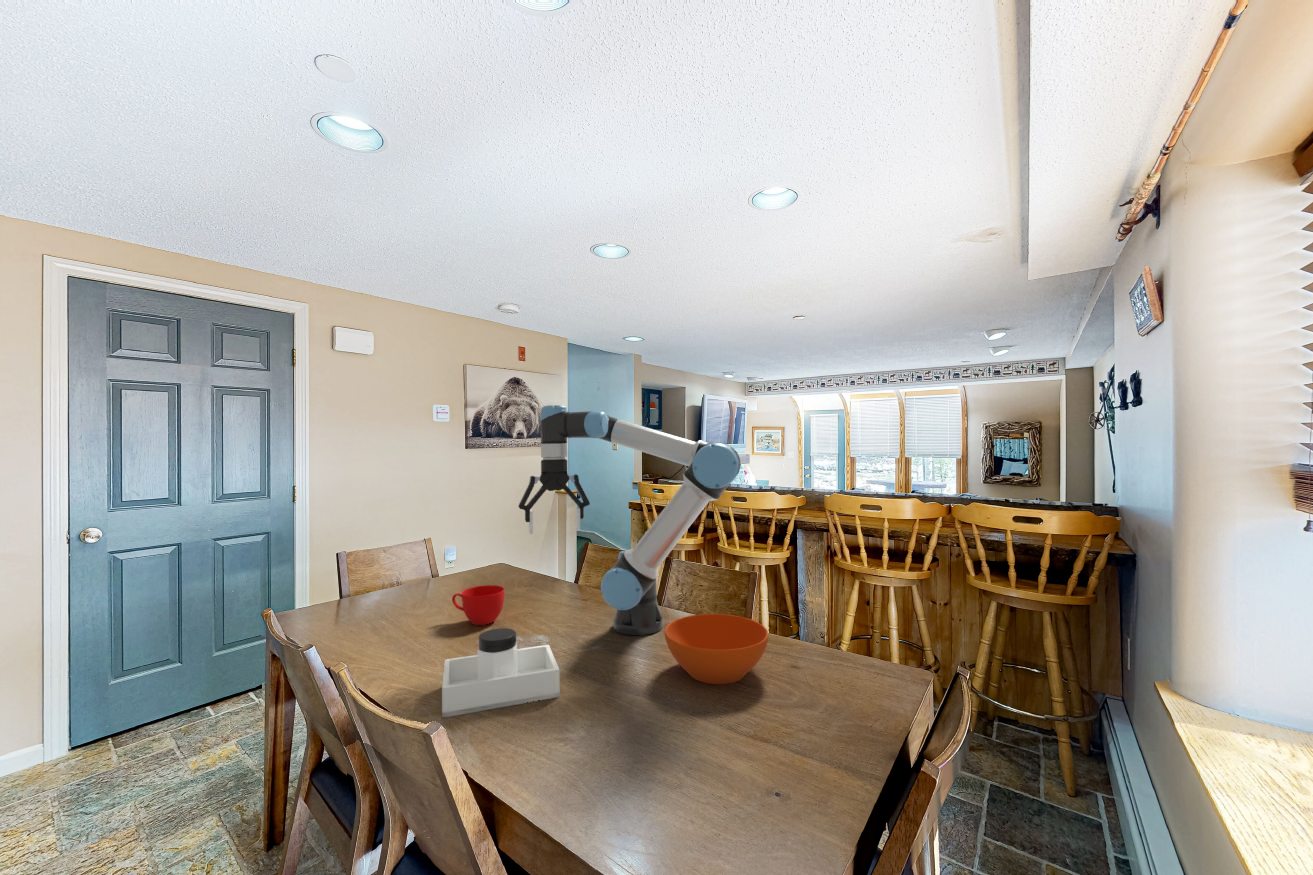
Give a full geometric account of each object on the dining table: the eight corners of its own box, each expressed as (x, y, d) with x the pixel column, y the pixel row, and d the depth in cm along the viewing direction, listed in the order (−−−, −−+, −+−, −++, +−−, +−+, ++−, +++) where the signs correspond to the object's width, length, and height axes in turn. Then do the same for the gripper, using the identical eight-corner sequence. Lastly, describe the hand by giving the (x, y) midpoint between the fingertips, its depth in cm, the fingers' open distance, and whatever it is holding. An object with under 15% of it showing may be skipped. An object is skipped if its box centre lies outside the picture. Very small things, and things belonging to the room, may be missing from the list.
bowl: (778, 660, 132) (778, 620, 133) (754, 704, 110) (753, 657, 110) (687, 645, 143) (687, 609, 143) (647, 683, 120) (647, 640, 120)
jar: (483, 700, 111) (483, 644, 111) (472, 686, 118) (472, 633, 118) (523, 688, 116) (523, 634, 116) (511, 675, 123) (510, 625, 123)
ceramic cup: (463, 614, 172) (462, 584, 173) (511, 616, 170) (511, 585, 170) (441, 628, 160) (441, 595, 160) (493, 629, 157) (493, 596, 157)
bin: (549, 668, 129) (548, 644, 129) (559, 696, 114) (559, 669, 114) (445, 685, 121) (445, 659, 121) (442, 717, 106) (442, 688, 106)
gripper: (593, 457, 158) (594, 527, 158) (508, 459, 150) (509, 532, 149) (599, 457, 151) (600, 530, 151) (510, 459, 143) (511, 536, 142)
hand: (554, 531), depth 150 cm, fingers open, 13 cm apart
